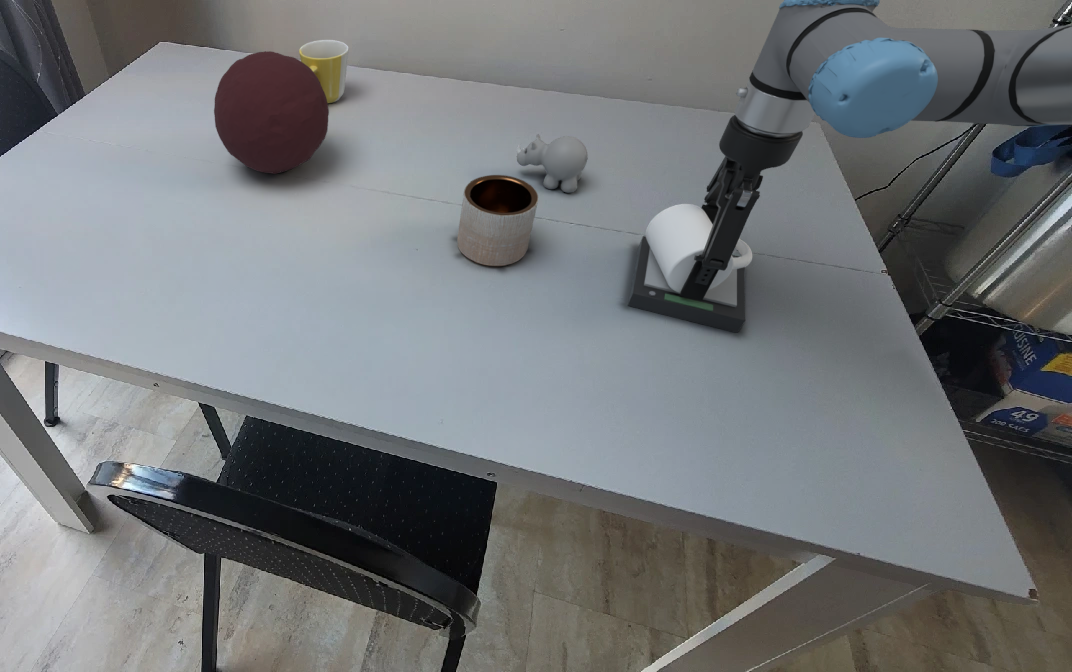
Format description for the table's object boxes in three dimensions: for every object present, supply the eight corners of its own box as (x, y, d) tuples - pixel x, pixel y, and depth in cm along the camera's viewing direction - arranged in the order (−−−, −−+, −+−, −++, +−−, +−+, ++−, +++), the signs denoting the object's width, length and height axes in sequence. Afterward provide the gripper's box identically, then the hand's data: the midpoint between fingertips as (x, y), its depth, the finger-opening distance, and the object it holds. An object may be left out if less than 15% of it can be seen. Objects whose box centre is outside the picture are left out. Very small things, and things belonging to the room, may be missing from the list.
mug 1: (322, 83, 136) (319, 35, 128) (359, 94, 132) (358, 45, 124) (283, 107, 128) (278, 57, 121) (321, 119, 124) (318, 68, 116)
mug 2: (658, 294, 81) (680, 248, 75) (637, 248, 88) (656, 202, 82) (749, 295, 81) (778, 248, 75) (721, 249, 87) (746, 202, 82)
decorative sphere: (235, 139, 119) (215, 34, 105) (334, 138, 118) (328, 32, 104) (216, 195, 106) (191, 83, 91) (328, 195, 105) (320, 81, 90)
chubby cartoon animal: (518, 163, 110) (527, 119, 104) (584, 178, 106) (597, 133, 100) (506, 182, 106) (514, 137, 100) (574, 199, 102) (587, 153, 96)
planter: (444, 253, 93) (450, 200, 86) (475, 218, 99) (483, 166, 92) (509, 278, 88) (521, 224, 81) (537, 239, 95) (550, 187, 88)
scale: (737, 333, 80) (747, 318, 78) (627, 305, 84) (633, 291, 82) (737, 270, 88) (746, 255, 86) (637, 248, 92) (643, 233, 90)
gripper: (732, 75, 76) (670, 217, 92) (730, 167, 62) (657, 317, 77) (798, 84, 74) (723, 228, 90) (813, 182, 59) (720, 333, 75)
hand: (693, 269), depth 84 cm, fingers closed on mug 2, 11 cm apart
